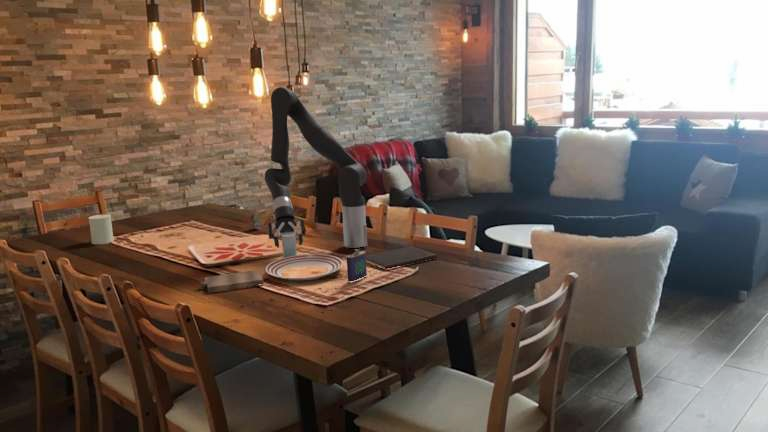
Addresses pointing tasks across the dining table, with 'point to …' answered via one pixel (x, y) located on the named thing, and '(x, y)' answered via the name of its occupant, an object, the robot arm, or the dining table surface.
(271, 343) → the dining table surface
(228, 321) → the dining table surface
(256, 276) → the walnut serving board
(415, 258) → the hardcover book
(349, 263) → the flask
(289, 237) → the stoneware cup
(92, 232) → the can
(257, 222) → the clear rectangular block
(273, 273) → the dinner plate
